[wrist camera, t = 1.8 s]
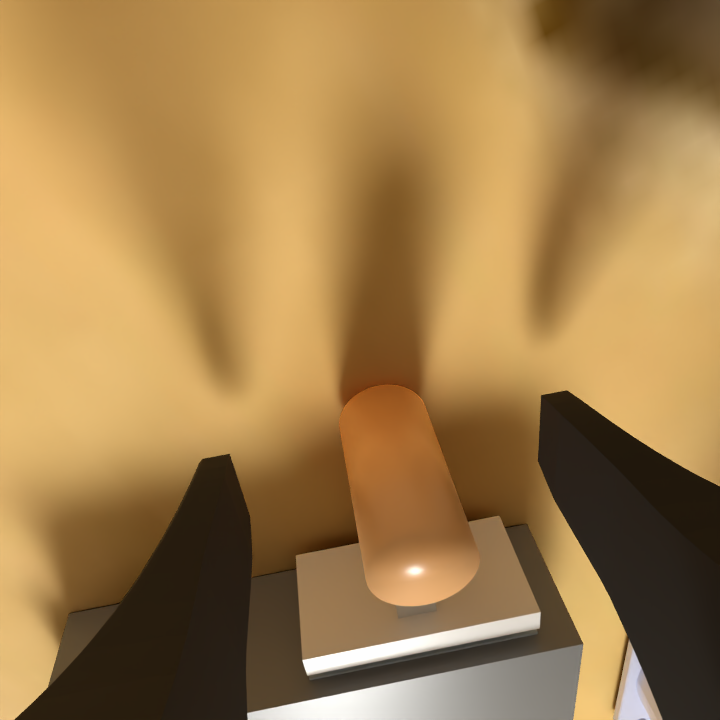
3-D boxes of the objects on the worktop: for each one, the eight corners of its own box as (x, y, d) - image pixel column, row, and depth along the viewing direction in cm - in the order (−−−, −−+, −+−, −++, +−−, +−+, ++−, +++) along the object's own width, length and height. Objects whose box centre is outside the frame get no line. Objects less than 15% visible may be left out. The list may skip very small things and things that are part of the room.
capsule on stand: (499, 360, 15) (581, 498, 11) (499, 531, 19) (561, 682, 15) (253, 405, 15) (252, 562, 11) (299, 570, 18) (311, 733, 14)
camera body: (526, 522, 19) (583, 642, 16) (522, 651, 23) (566, 769, 20) (33, 618, 18) (-15, 765, 15) (115, 735, 22) (90, 871, 19)
